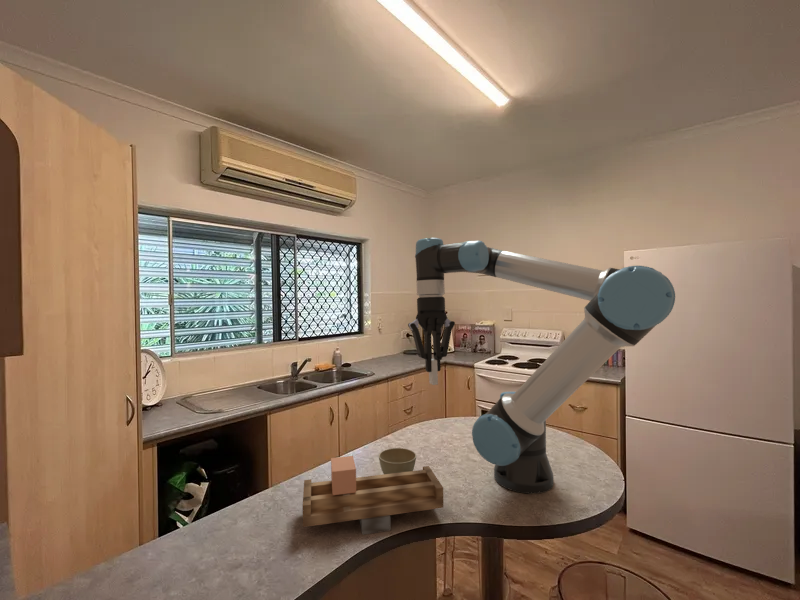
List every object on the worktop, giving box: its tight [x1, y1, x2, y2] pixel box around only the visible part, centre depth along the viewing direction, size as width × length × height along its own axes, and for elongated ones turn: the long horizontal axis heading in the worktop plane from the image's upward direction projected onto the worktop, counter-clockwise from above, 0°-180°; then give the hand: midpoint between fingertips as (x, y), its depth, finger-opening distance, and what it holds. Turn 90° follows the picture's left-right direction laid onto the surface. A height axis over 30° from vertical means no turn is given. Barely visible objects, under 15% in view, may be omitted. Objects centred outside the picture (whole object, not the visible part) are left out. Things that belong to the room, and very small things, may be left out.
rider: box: [330, 455, 357, 495], centre depth 84 cm, size 5×7×7 cm
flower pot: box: [378, 447, 417, 475], centre depth 102 cm, size 10×10×7 cm
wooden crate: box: [302, 465, 444, 535], centre depth 86 cm, size 30×12×8 cm, turn 102°
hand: (433, 383), depth 103 cm, fingers closed
